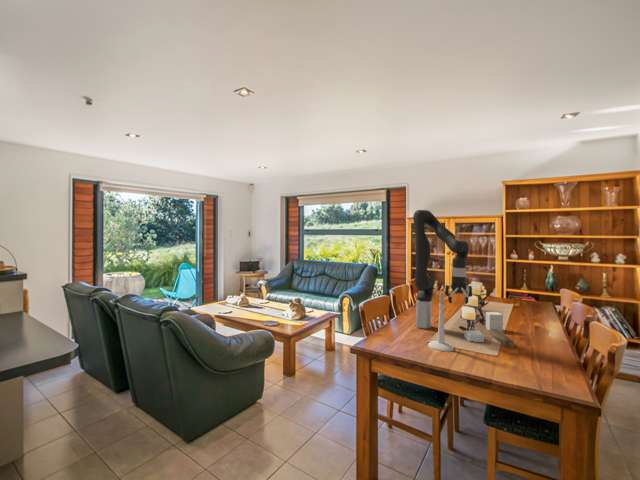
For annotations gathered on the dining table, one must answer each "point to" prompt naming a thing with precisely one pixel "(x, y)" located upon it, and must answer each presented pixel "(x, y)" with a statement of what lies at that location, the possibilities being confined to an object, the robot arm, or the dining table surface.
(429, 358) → the dining table surface
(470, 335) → the block
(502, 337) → the brown long bar
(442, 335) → the candlestick
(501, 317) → the small box
